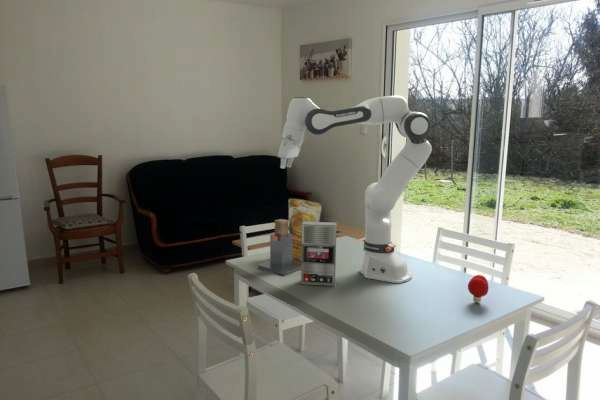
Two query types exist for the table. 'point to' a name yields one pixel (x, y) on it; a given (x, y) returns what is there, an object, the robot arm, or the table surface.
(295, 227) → the pancake mix bag
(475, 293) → the light bulb
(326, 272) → the cassette tape recorder
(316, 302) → the table surface
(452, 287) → the table surface
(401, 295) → the table surface
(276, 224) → the post
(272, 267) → the stand
